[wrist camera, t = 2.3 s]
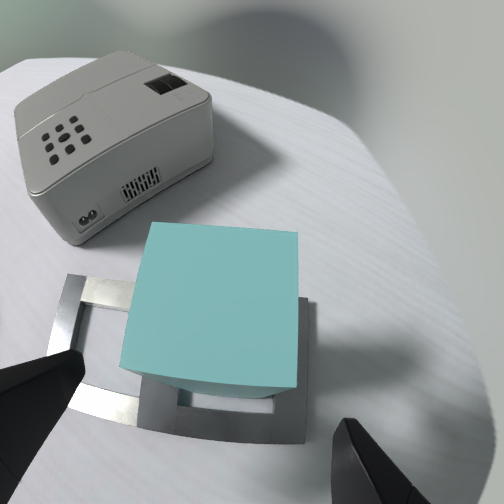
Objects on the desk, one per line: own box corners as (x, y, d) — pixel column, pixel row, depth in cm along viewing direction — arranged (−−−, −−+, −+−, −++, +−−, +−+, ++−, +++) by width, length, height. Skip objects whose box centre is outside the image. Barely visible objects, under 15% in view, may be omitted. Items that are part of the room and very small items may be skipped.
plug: (257, 398, 17) (296, 387, 6) (196, 392, 17) (119, 367, 6) (261, 340, 19) (297, 232, 8) (202, 335, 19) (151, 221, 8)
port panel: (305, 301, 21) (308, 297, 20) (301, 442, 16) (304, 444, 15) (72, 277, 20) (67, 273, 20) (46, 396, 15) (40, 395, 15)
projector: (73, 258, 22) (28, 201, 15) (33, 148, 29) (12, 105, 23) (223, 162, 28) (220, 94, 21) (133, 91, 35) (124, 46, 29)
